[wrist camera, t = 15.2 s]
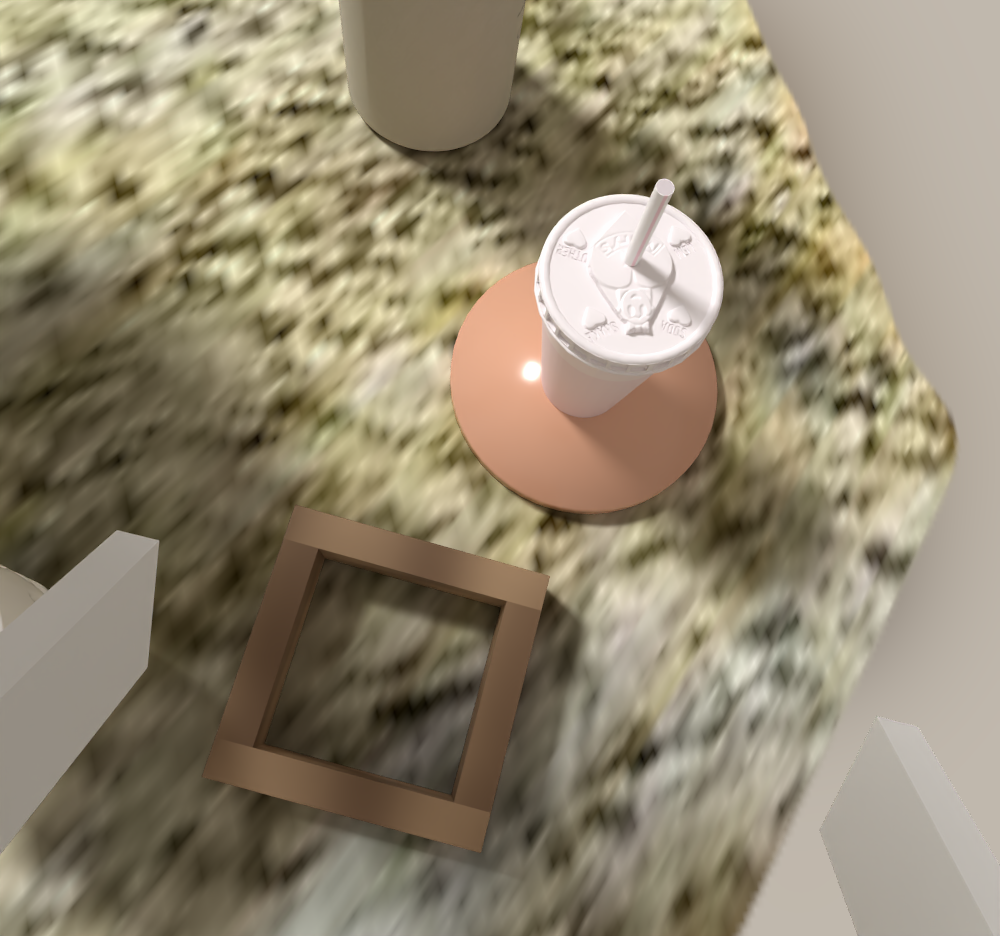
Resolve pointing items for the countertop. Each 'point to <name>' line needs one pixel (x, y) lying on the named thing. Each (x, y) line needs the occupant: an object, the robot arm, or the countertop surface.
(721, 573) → the countertop surface
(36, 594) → the white cup
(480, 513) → the countertop surface
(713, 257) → the smoothie
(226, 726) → the brown square wooden frame
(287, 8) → the countertop surface
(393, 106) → the travel mug
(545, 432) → the coaster
